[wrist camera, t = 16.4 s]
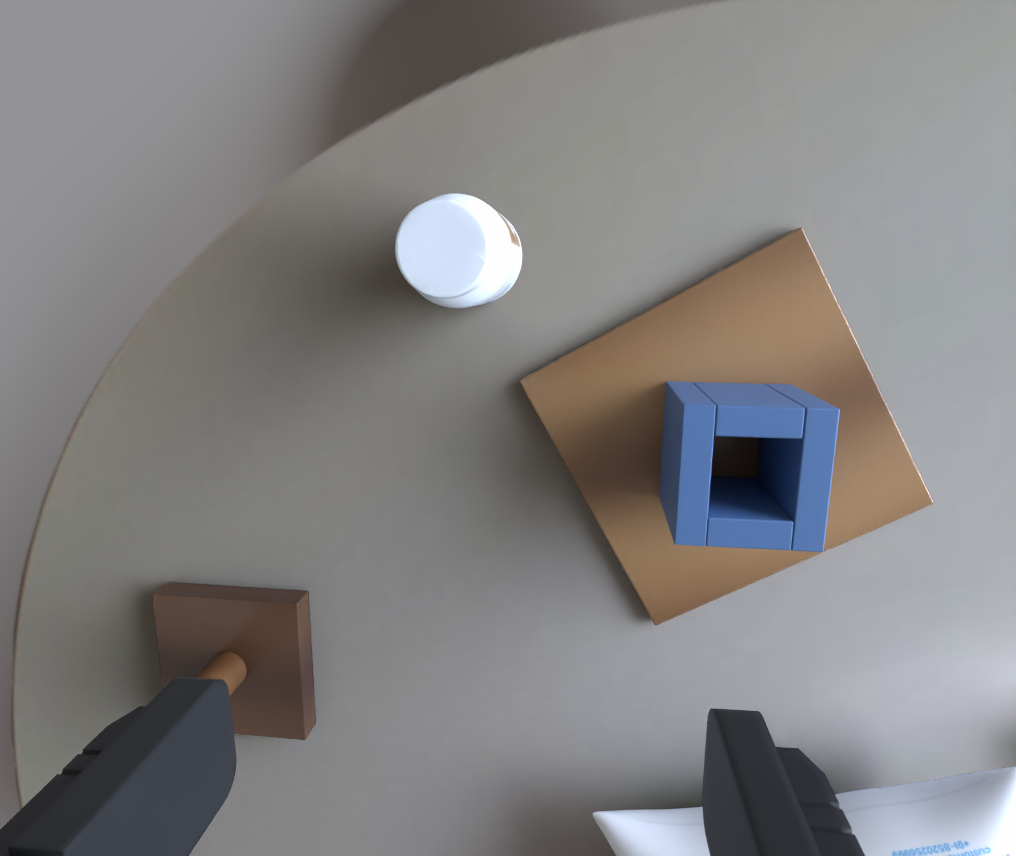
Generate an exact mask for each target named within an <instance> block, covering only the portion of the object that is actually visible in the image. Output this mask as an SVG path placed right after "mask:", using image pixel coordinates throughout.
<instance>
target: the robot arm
mask: <svg viewBox="0 0 1016 856" xmlns="http://www.w3.org/2000/svg"><path fill="white" fill-rule="evenodd" d="M235 771H236V750H235V741H234V732H233V722H232V713H231V704H230V695H229V689H228V686H227V684H226V682H225V681H224V680H222V679H207V678H189V677H178V678H175V679H174V680H172V681H171V682H170V683H169V684H168V685H167V686H166V687H165V688H164V689H163V690H162V691H161V692H160V693H159V694H158V695H157V696H156V697H155V698H154V699H153V700H152V701H151V702H150V703H149V704H148V705H147V706H146V707H142V706H140V707H138V708H137V709H135V710H133V711H132V712H130V713H128V714H127V715H125V716H123V717H122V718H120V719H118V720H117V721H115V722H113V723H112V724H110V725H108V726H107V727H106V728H105V729H104V730H103V731H102V732H101V733H100V734H99V735H98V736H97V737H96V738H95V739H93V740H92V741H91V742H90V743H89V744H88V745H87V746H86V747H85V748H84V749H83V753H82V754H78V755H77V756H76V757H75V758H74V759H73V760H72V761H71V762H70V763H69V764H68V765H67V766H66V767H65V768H64V769H63V772H62V774H61V775H59V774H57V775H56V776H55V777H54V778H53V779H52V780H51V781H50V782H49V783H48V784H47V785H46V786H45V787H44V788H43V789H42V790H41V791H40V792H39V793H38V794H37V795H36V796H35V797H34V798H33V799H31V800H30V801H29V802H28V803H27V804H26V805H25V806H24V807H23V808H22V809H21V810H20V811H19V812H18V813H17V814H16V815H15V816H14V817H13V818H12V819H11V820H10V821H9V822H8V823H7V824H6V825H5V826H4V827H3V828H2V829H0V856H189V854H190V853H191V851H192V850H193V848H194V847H195V845H196V844H197V842H198V841H199V839H200V838H201V836H202V835H203V833H204V832H205V830H206V829H207V827H208V826H209V824H210V823H211V821H212V820H213V818H214V817H215V815H216V814H217V812H218V811H219V809H220V808H221V806H222V805H223V803H224V802H225V800H226V798H227V796H228V794H229V792H230V789H231V787H232V784H233V780H234V776H235ZM702 807H703V821H704V829H705V835H706V840H707V844H708V849H709V853H710V856H865V854H864V852H863V850H862V848H861V846H860V844H859V842H858V840H857V838H856V836H855V835H854V834H852V830H851V829H852V828H851V826H850V824H849V822H848V820H847V818H846V816H845V814H844V812H843V810H842V809H840V807H839V802H838V800H837V798H836V796H835V794H834V792H833V790H832V788H831V786H830V784H829V782H828V780H827V778H826V776H825V774H824V773H823V772H822V771H821V770H820V769H819V768H818V767H817V766H816V765H815V764H814V763H813V762H812V761H811V760H810V759H809V758H808V757H807V756H805V755H804V754H803V753H802V752H801V751H800V750H799V749H798V748H782V747H775V745H774V742H773V740H772V738H771V735H770V733H769V730H768V728H767V726H766V723H765V721H764V719H763V716H762V714H761V713H760V712H759V711H745V710H727V709H710V711H709V714H708V721H707V734H706V748H705V762H704V776H703V790H702Z"/></svg>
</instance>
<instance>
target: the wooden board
mask: <svg viewBox="0 0 1016 856" xmlns="http://www.w3.org/2000/svg"><path fill="white" fill-rule="evenodd" d="M667 381H673V382H692V383H694V382H709V383H749V384H765V385H766V384H791V385H793V386H795V387H797V388H799V389H801V390H803V391H805V392H807V393H809V394H811V395H813V396H815V397H817V398H819V399H821V400H823V401H825V402H827V403H829V404H831V405H833V406H835V407H836V408H838V409H840V413H839V422H838V430H837V439H836V448H835V456H834V465H833V474H832V482H831V491H830V500H829V508H828V517H827V525H826V534H825V543H824V551H826V550H829V549H831V548H833V547H836V546H838V545H840V544H842V543H845V542H847V541H849V540H851V539H854V538H856V537H858V536H861V535H863V534H865V533H867V532H870V531H872V530H874V529H877V528H879V527H881V526H883V525H886V524H888V523H890V522H892V521H895V520H897V519H899V518H902V517H904V516H906V515H908V514H911V513H913V512H915V511H917V510H920V509H922V508H924V507H927V506H929V505H931V504H933V500H932V498H931V496H930V494H929V492H928V490H927V488H926V486H925V484H924V482H923V479H922V477H921V475H920V473H919V471H918V469H917V467H916V465H915V463H914V461H913V459H912V456H911V454H910V452H909V450H908V448H907V446H906V444H905V442H904V440H903V438H902V436H901V433H900V431H899V429H898V427H897V425H896V423H895V421H894V419H893V417H892V415H891V413H890V410H889V408H888V406H887V404H886V402H885V400H884V398H883V396H882V394H881V392H880V390H879V387H878V385H877V383H876V381H875V379H874V377H873V375H872V373H871V371H870V369H869V367H868V364H867V362H866V360H865V358H864V356H863V354H862V352H861V350H860V348H859V346H858V344H857V341H856V339H855V337H854V335H853V333H852V331H851V329H850V327H849V325H848V323H847V321H846V318H845V316H844V314H843V312H842V310H841V308H840V306H839V304H838V302H837V300H836V298H835V295H834V293H833V291H832V289H831V287H830V285H829V283H828V281H827V279H826V277H825V275H824V273H823V270H822V268H821V266H820V264H819V262H818V260H817V258H816V256H815V254H814V252H813V250H812V247H811V245H810V243H809V241H808V239H807V237H806V235H805V233H804V231H803V229H802V228H797V229H795V230H793V231H791V232H790V233H788V234H786V235H784V236H782V237H780V238H779V239H777V240H775V241H773V242H771V243H769V244H768V245H766V246H764V247H762V248H760V249H758V250H757V251H755V252H753V253H751V254H749V255H747V256H746V257H744V258H742V259H740V260H738V261H736V262H735V263H733V264H731V265H729V266H727V267H725V268H724V269H722V270H720V271H718V272H716V273H714V274H713V275H711V276H709V277H707V278H705V279H703V280H702V281H700V282H698V283H696V284H694V285H692V286H691V287H689V288H687V289H685V290H683V291H681V292H679V293H678V294H676V295H674V296H672V297H670V298H668V299H667V300H665V301H663V302H661V303H659V304H657V305H656V306H654V307H652V308H650V309H648V310H646V311H645V312H643V313H641V314H639V315H637V316H635V317H634V318H632V319H630V320H628V321H626V322H624V323H623V324H621V325H619V326H617V327H615V328H613V329H612V330H610V331H608V332H606V333H604V334H602V335H601V336H599V337H597V338H595V339H593V340H591V341H590V342H588V343H586V344H584V345H582V346H580V347H579V348H577V349H575V350H573V351H571V352H569V353H568V354H566V355H564V356H562V357H560V358H558V359H556V360H555V361H553V362H551V363H549V364H547V365H545V366H544V367H542V368H540V369H538V370H536V371H534V372H533V373H531V374H529V375H527V376H525V377H523V378H522V379H521V380H520V384H521V386H522V387H523V389H524V391H525V393H526V394H527V396H528V398H529V400H530V402H531V403H532V405H533V407H534V409H535V411H536V412H537V414H538V416H539V418H540V420H541V421H542V423H543V425H544V427H545V429H546V430H547V432H548V434H549V436H550V438H551V439H552V441H553V443H554V445H555V447H556V448H557V450H558V452H559V454H560V456H561V457H562V459H563V461H564V463H565V464H566V466H567V468H568V470H569V472H570V473H571V475H572V477H573V479H574V481H575V482H576V484H577V486H578V488H579V490H580V491H581V493H582V495H583V497H584V499H585V500H586V502H587V504H588V506H589V508H590V509H591V511H592V513H593V515H594V517H595V518H596V520H597V522H598V524H599V526H600V527H601V529H602V531H603V533H604V534H605V536H606V538H607V540H608V542H609V543H610V545H611V547H612V549H613V551H614V552H615V554H616V556H617V558H618V560H619V561H620V563H621V565H622V567H623V569H624V570H625V572H626V574H627V576H628V578H629V579H630V581H631V583H632V585H633V587H634V588H635V590H636V592H637V594H638V596H639V597H640V599H641V601H642V603H643V604H644V606H645V608H646V610H647V612H648V613H649V615H650V617H651V619H652V621H653V622H654V624H655V625H658V624H660V623H662V622H665V621H667V620H669V619H672V618H674V617H676V616H678V615H681V614H683V613H685V612H688V611H690V610H692V609H694V608H697V607H699V606H701V605H703V604H706V603H708V602H710V601H713V600H715V599H717V598H719V597H722V596H724V595H726V594H729V593H731V592H733V591H735V590H738V589H740V588H742V587H744V586H747V585H749V584H751V583H754V582H756V581H758V580H760V579H763V578H765V577H767V576H769V575H772V574H774V573H776V572H779V571H781V570H783V569H785V568H788V567H790V566H792V565H795V564H797V563H799V562H801V561H804V560H806V559H808V558H810V557H813V556H815V555H817V554H820V553H822V552H808V551H792V550H770V549H751V548H731V547H712V546H706V545H705V546H689V545H675V544H674V541H673V538H672V535H671V532H670V529H669V526H668V523H667V520H666V517H665V514H664V511H663V508H662V505H661V502H660V498H659V487H660V470H661V453H662V436H663V419H664V402H665V385H666V382H667ZM759 446H760V438H754V437H724V436H715V435H714V441H713V454H712V467H711V476H728V477H753V478H756V479H757V468H758V457H759ZM824 551H823V552H824Z"/></svg>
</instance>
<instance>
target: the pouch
mask: <svg viewBox="0 0 1016 856" xmlns="http://www.w3.org/2000/svg"><path fill="white" fill-rule="evenodd" d="M835 796H836V798H837V800H838V802H839V807H840V809H842V810H843V812H844V814H845V816H846V818H847V820H848V822H849V824H850V826H851V828H852V829H851V830H852V834H854V835H855V836H856V838H857V840H858V842H859V844H860V846H861V848H862V850H863V852H864V854H865V856H1016V766H1015V767H1010V768H1002V769H994V770H987V771H980V772H974V773H968V774H962V775H956V776H951V777H945V778H939V779H934V780H928V781H922V782H916V783H909V784H902V785H895V786H887V787H879V788H871V789H864V790H857V791H851V792H845V793H839V794H835ZM593 817H594V819H595V821H596V823H597V824H598V826H599V827H600V829H601V830H602V832H603V834H604V835H605V837H606V839H607V841H608V842H609V844H610V846H611V847H612V849H613V851H614V853H615V854H616V856H710V853H709V849H708V844H707V840H706V835H705V829H704V821H703V807H694V808H681V809H654V810H618V811H603V812H601V811H599V812H594V813H593Z"/></svg>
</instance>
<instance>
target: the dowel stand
mask: <svg viewBox="0 0 1016 856" xmlns="http://www.w3.org/2000/svg"><path fill="white" fill-rule="evenodd" d="M152 599H153V608H154V617H155V626H156V635H157V644H158V653H159V662H160V671H161V680H162V689H164V688H165V687H166V686H167V685H168V684H169V683H170V682H171V681H172V680H174V679H175V678H178V677H189V678H207V679H222V680H224V681H225V682H226V684H227V686H228V689H229V695H230V704H231V713H232V722H233V732H234V734H243V735H255V736H266V737H277V738H288V739H300V740H306V738H307V736H308V735H309V733H310V732H311V730H312V728H313V727H314V725H315V723H316V715H315V698H314V680H313V663H312V645H311V628H310V611H309V593H308V591H298V590H282V589H266V588H250V587H235V586H219V585H203V584H187V583H172V582H169V583H167V584H166V585H164V586H163V587H161V588H160V589H159V590H157V591H156V592H155V593H153V594H152Z"/></svg>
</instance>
